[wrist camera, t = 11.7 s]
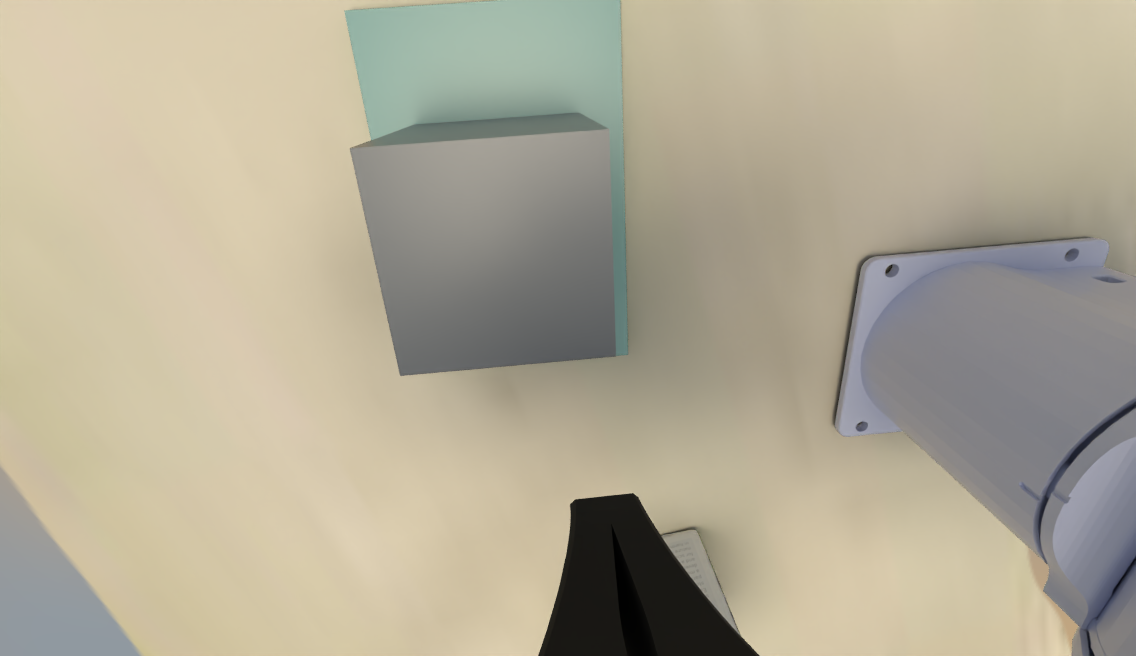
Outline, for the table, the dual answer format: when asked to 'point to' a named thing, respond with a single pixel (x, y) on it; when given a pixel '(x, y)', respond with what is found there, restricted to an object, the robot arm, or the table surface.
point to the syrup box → (699, 568)
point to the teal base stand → (499, 76)
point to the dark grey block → (492, 240)
